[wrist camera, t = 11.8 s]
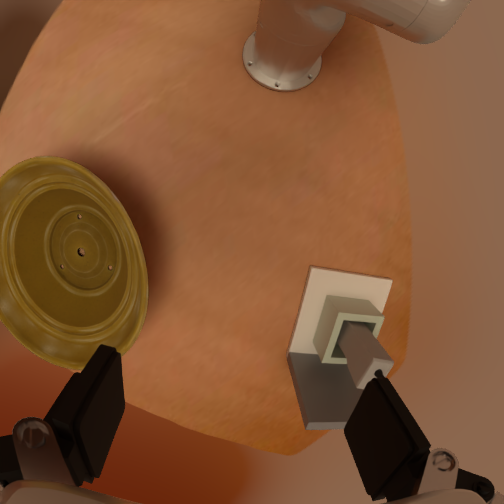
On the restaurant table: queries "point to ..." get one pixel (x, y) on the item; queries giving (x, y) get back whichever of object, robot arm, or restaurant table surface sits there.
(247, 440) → the restaurant table surface
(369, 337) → the vintage mobile phone
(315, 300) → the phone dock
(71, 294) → the planter bowl
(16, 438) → the robot arm
